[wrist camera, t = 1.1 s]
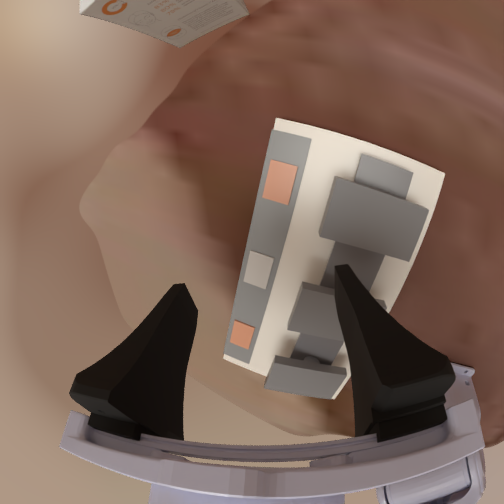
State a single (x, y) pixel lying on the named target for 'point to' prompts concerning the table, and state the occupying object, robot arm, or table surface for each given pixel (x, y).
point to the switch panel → (313, 240)
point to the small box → (167, 16)
